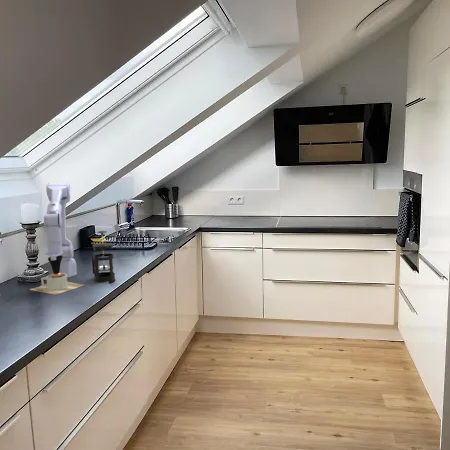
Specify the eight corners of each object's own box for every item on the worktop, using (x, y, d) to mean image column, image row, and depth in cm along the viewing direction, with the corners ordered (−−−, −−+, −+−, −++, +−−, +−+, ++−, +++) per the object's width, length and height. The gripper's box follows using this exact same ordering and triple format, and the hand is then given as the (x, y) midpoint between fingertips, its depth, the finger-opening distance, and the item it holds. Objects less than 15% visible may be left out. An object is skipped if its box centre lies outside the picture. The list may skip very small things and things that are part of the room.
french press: (121, 280, 214) (118, 230, 210) (106, 285, 205) (103, 233, 202) (101, 277, 219) (99, 228, 216) (86, 282, 211) (83, 231, 208)
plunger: (64, 283, 204) (63, 271, 203) (64, 287, 198) (63, 274, 198) (50, 285, 202) (49, 272, 201) (50, 288, 197) (49, 275, 196)
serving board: (60, 282, 211) (60, 280, 211) (85, 287, 203) (85, 285, 203) (29, 291, 198) (29, 289, 198) (54, 297, 190) (54, 294, 189)
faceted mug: (68, 283, 206) (67, 272, 205) (68, 288, 198) (67, 277, 197) (42, 286, 202) (41, 274, 202) (41, 291, 194) (40, 279, 193)
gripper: (46, 239, 203) (48, 270, 205) (41, 245, 189) (44, 278, 191) (63, 238, 205) (65, 269, 207) (60, 244, 191) (62, 277, 193)
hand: (56, 273), depth 199 cm, fingers closed, pressing on plunger
